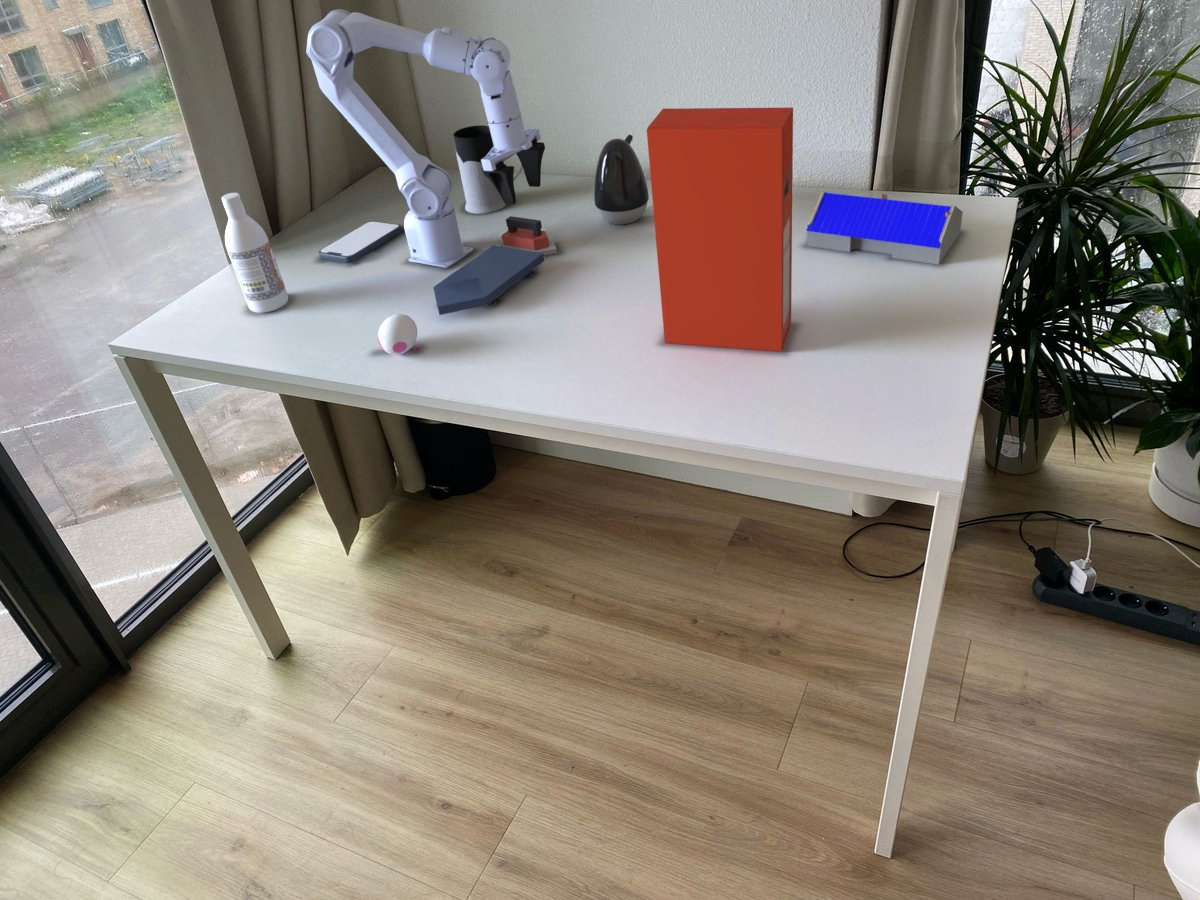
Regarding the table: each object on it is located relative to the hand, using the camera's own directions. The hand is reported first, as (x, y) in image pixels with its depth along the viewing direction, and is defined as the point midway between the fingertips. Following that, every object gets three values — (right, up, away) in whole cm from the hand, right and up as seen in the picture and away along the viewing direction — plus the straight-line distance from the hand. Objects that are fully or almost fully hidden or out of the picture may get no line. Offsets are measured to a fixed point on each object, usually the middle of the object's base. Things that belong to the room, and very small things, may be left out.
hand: (522, 194), depth 164 cm
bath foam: (-45, -20, 0) cm, 49 cm away
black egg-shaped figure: (+18, -1, +13) cm, 22 cm away
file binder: (+33, -28, -26) cm, 50 cm away
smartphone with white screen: (-33, -5, +17) cm, 37 cm away
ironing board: (-6, -18, -6) cm, 20 cm away
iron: (+1, -8, +7) cm, 10 cm away
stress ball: (-18, -30, -19) cm, 39 cm away
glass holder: (-7, +5, +26) cm, 28 cm away
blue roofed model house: (+62, -10, -7) cm, 63 cm away
